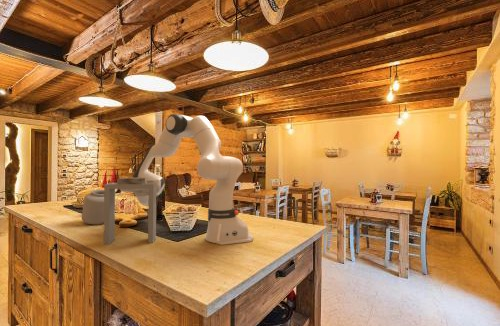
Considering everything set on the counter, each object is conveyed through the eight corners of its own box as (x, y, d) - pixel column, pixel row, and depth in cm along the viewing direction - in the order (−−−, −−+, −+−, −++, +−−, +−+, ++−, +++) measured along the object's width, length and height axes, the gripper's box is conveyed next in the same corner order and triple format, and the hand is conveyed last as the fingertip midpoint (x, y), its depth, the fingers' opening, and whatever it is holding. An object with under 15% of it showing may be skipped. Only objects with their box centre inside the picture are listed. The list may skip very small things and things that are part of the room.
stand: (155, 238, 118) (156, 182, 117) (152, 242, 111) (153, 184, 111) (109, 239, 114) (110, 182, 114) (103, 244, 107) (104, 184, 107)
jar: (121, 222, 146) (122, 179, 146) (96, 228, 133) (97, 181, 132) (101, 218, 154) (101, 178, 154) (75, 224, 141) (76, 179, 141)
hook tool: (149, 181, 125) (149, 176, 125) (141, 184, 110) (141, 178, 110) (128, 181, 124) (128, 176, 124) (117, 184, 108) (117, 178, 108)
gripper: (122, 184, 132) (114, 172, 120) (163, 184, 136) (159, 173, 124) (120, 195, 129) (112, 184, 117) (162, 195, 133) (158, 184, 121)
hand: (136, 178), depth 121 cm, fingers closed on hook tool, 2 cm apart
